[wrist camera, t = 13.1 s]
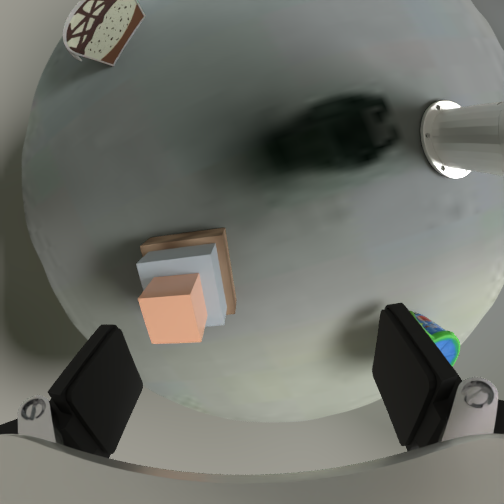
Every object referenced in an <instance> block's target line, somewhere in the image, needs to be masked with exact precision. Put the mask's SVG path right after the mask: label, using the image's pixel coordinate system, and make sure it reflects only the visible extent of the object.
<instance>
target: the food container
mask: <svg viewBox="0 0 504 504" xmlns="http://www.w3.org/2000/svg"><path fill="white" fill-rule="evenodd" d="M145 17H146V16H145V14H144V12H143V10H142V8H141V7H140V5H139V3H138V1H137V0H80V1H79V2H78V3H77V4H76V6H75V7H74V8H73V10H72V11H71V13H70V14H69V16H68V18H67V20H66V22H65V25H64V29H63V41H64V44H65V47H66V49H67V50H68V51H69V53H70V54H71V55H72V56H73V57H74V58H76V59H77V60H79V61H82V59H81V58H80V57H79V55H80V56H83V57H86V58H90V59H93V60H96V61H99V62H102V63H105V64H108V65H111V66H114V65H115V63H116V61H117V60H118V58H119V56H120V55H121V53H122V51H123V50H124V48H125V46H126V45H127V43H128V42H129V40H130V39H131V37H132V35H133V34H134V32H135V31H136V30H137V28H138V27H139V25H140V24H141V22H142V21H143V19H144V18H145Z"/></svg>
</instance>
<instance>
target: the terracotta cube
mask: <svg viewBox="0 0 504 504" xmlns="http://www.w3.org/2000/svg"><path fill="white" fill-rule="evenodd" d="M138 300H139V304H140V307H141V311H142V314H143V317H144V320H145V324H146V327H147V330H148V333H149V336H150V339H151V342H152V344H165V343H190V342H201V341H202V337H203V332H204V328H205V324H206V320H207V316H208V315H207V310H206V305H205V300H204V295H203V290H202V285H201V280H200V274H199V273H192V274H182V275H172V276H162V277H154V278H153V279H152V280H151V282H150V283H149V284H148V286H147V287H146V288H145V290H144V291H143V292H142V294H141V295H140V296H139V298H138Z"/></svg>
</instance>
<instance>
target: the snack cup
mask: <svg viewBox="0 0 504 504" xmlns="http://www.w3.org/2000/svg"><path fill="white" fill-rule="evenodd" d="M410 313H411V314H412V315H413V316H414V318H415V319H416V320H417V321H418V323H419V324H420V325H421V326H422V328H423V329H424V330H425V331H426V333H427V334H428V335H429V336H430V338H431V339H432V340H433V342H434V343H435V344H436V346H437V347H438V348H439V349H440V351H441V352H442V353H443V355H444V356H445V357H446V359H447V360H448V362H449V363H450V364H451V366H453V365H454V363H455V362H456V360H457V357H458V355H459V351H460V342H459V340H458V338H457V337H456V336H455V335H454V333H453V332H450V331H445V330H444V329H443V328H441V327H440V326H438V325H437V324H435V323H434V322H432V321H431V320H429V319H428V318H427V317H425V316H423V315H421V314H414V313H413V312H412V311H410Z"/></svg>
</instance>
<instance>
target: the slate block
mask: <svg viewBox="0 0 504 504" xmlns="http://www.w3.org/2000/svg"><path fill="white" fill-rule="evenodd" d="M136 265H137V269H138V273H139V277H140V280H141V284H142V288H143V291H144V290H145V288H146V287H147V286H148V284H149V283H150V282H151V280H152V279H153V278H154V277H162V276H172V275H182V274H192V273H199V274H200V280H201V285H202V290H203V295H204V300H205V305H206V310H207V315H208V316H207V320H206V324H205V327H206V326H218V325H224V324H225V317H226V311H227V304H226V299H225V294H224V288H223V283H222V277H221V271H220V266H219V260H218V254H217V248H216V243H211V244H203V245H195V246H188V247H180V248H173V249H165V250H158V251H151V252H148V253H147V254H146V255H145V256H144V257H143V258H141V259H140V260H139V261H138V262H137V263H136Z"/></svg>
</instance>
